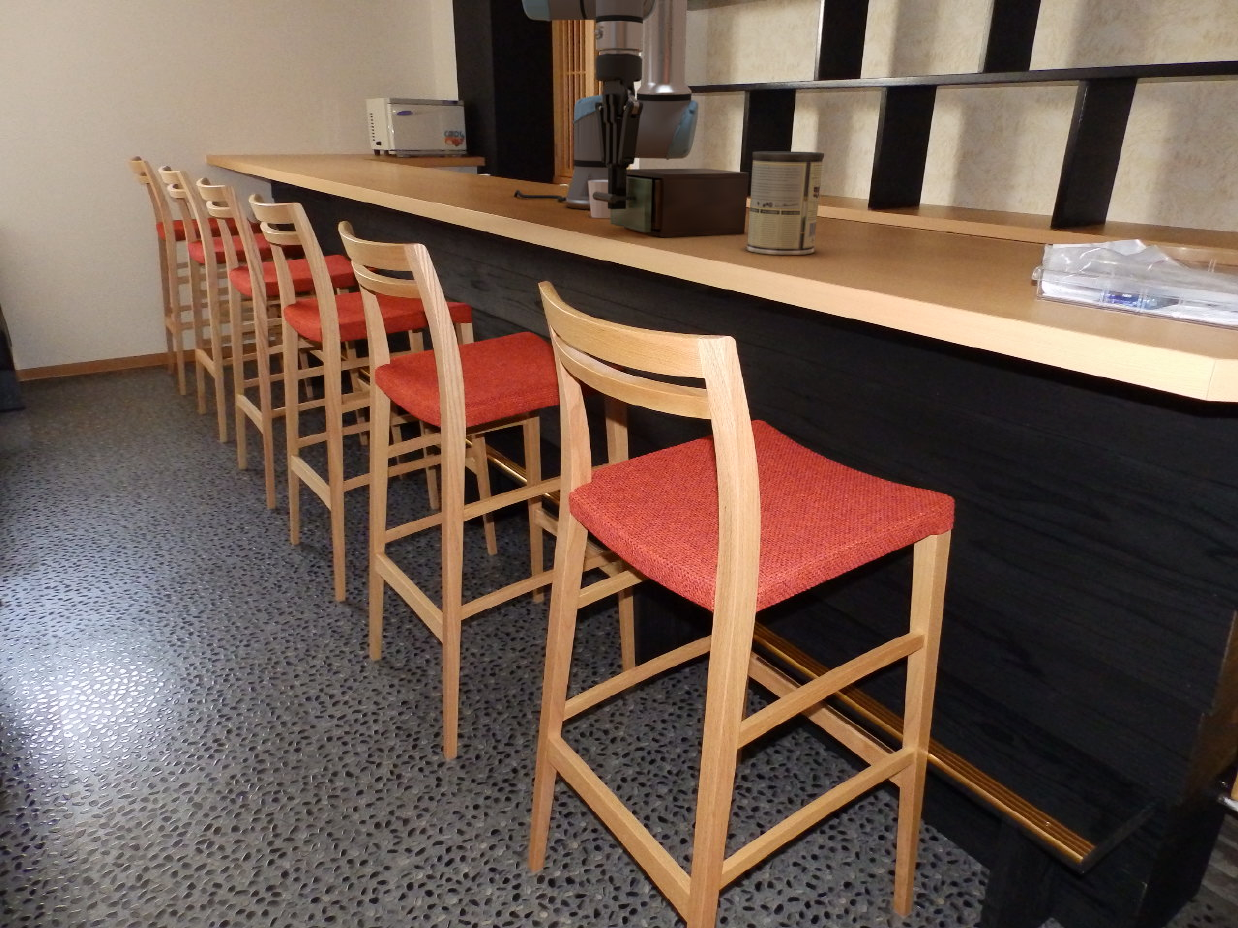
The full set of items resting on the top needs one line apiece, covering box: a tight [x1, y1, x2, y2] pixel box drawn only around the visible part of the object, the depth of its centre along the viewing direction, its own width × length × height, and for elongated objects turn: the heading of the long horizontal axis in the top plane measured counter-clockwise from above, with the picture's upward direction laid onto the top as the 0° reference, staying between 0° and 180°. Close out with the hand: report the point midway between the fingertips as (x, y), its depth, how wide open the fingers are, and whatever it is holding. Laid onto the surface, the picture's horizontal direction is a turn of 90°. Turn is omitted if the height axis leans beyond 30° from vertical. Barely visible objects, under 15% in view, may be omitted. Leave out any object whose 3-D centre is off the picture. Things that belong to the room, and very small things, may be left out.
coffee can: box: [746, 150, 825, 256], centre depth 125 cm, size 10×10×14 cm
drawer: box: [593, 176, 662, 233], centre depth 145 cm, size 20×13×8 cm, turn 117°
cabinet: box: [623, 168, 750, 239], centre depth 148 cm, size 17×14×10 cm
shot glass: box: [588, 180, 611, 219], centre depth 169 cm, size 7×7×7 cm
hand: (616, 208), depth 142 cm, fingers closed
